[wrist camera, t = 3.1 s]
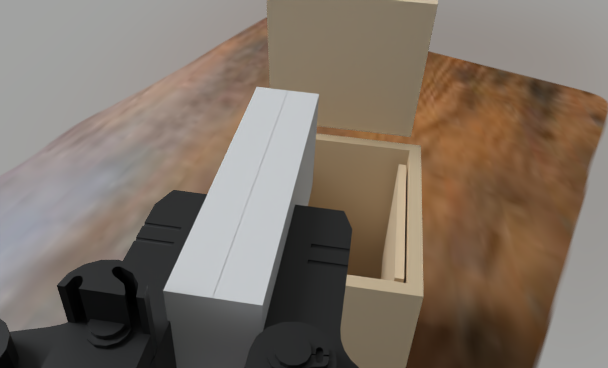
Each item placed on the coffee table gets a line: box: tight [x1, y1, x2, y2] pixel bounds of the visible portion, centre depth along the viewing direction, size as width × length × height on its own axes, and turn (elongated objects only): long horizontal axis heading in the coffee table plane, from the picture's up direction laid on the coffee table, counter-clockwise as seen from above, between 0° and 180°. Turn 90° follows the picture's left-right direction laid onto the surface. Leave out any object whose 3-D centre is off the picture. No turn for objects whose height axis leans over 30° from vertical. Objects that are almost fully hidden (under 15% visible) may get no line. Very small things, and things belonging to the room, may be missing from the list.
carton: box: [308, 133, 423, 368], centre depth 32 cm, size 9×11×14 cm
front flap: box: [267, 0, 438, 137], centre depth 29 cm, size 8×8×1 cm
